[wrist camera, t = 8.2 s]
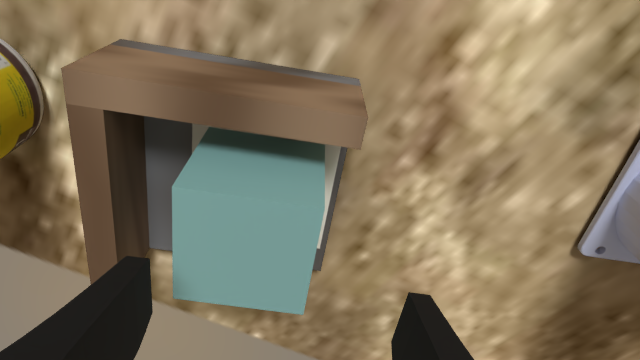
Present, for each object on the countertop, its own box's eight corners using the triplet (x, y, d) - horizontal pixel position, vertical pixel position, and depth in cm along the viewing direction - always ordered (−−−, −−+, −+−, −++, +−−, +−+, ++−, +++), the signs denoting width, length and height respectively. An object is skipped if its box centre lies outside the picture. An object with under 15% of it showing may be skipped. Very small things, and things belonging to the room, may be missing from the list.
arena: (359, 79, 18) (367, 117, 14) (320, 258, 23) (319, 323, 19) (120, 39, 17) (61, 68, 14) (133, 232, 22) (92, 295, 18)
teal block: (325, 144, 18) (324, 208, 14) (307, 236, 21) (302, 315, 16) (208, 126, 18) (171, 186, 14) (205, 222, 20) (172, 298, 16)
